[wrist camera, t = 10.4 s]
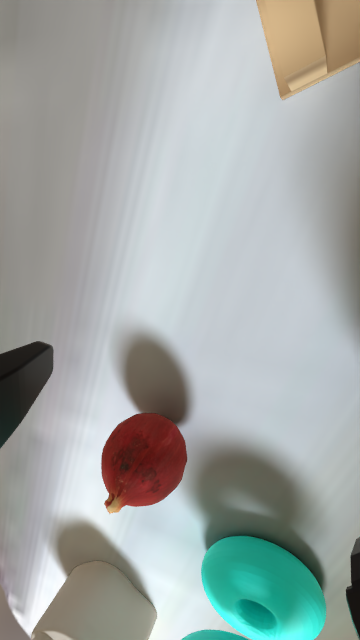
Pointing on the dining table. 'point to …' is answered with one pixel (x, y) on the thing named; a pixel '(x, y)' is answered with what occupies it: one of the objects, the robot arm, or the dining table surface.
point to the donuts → (260, 592)
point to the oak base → (310, 40)
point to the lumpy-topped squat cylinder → (97, 607)
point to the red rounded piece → (142, 461)
